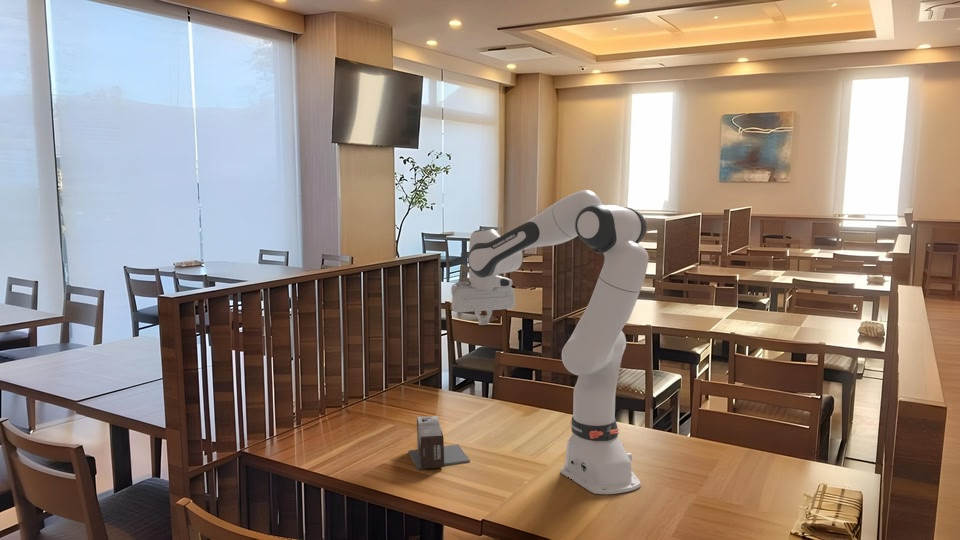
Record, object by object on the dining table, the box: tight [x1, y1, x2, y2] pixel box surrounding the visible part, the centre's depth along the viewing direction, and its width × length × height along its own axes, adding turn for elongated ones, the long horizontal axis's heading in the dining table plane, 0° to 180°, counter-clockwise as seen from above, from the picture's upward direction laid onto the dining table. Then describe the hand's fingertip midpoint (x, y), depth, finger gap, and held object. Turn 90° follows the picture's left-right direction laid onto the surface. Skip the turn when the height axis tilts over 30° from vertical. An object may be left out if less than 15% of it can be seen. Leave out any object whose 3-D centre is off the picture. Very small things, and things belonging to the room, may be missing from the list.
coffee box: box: [416, 415, 445, 470], centre depth 190 cm, size 9×6×16 cm
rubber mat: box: [408, 443, 471, 470], centre depth 192 cm, size 12×15×1 cm
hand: (483, 324), depth 212 cm, fingers closed
